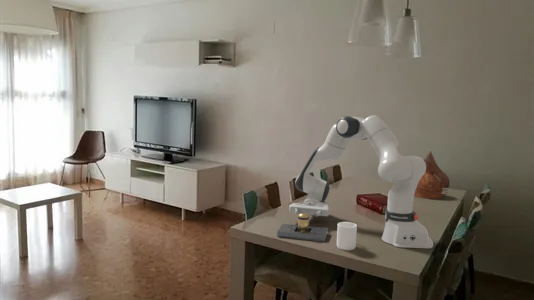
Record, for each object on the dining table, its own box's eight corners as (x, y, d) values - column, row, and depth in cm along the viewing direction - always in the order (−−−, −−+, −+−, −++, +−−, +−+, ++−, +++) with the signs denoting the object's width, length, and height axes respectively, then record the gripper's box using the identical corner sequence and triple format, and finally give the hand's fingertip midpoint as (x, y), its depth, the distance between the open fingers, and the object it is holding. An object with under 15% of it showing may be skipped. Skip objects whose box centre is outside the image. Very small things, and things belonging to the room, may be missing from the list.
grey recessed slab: (327, 233, 208) (327, 228, 208) (324, 241, 197) (325, 236, 196) (282, 228, 213) (282, 223, 213) (277, 236, 202) (277, 231, 202)
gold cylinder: (309, 233, 207) (310, 213, 206) (307, 237, 202) (308, 216, 200) (298, 232, 208) (298, 212, 207) (296, 236, 203) (296, 215, 202)
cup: (334, 248, 188) (335, 226, 187) (340, 240, 199) (341, 218, 198) (353, 251, 185) (354, 228, 184) (359, 242, 196) (360, 221, 195)
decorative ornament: (404, 196, 286) (408, 150, 281) (409, 190, 302) (412, 147, 298) (447, 201, 274) (451, 154, 270) (449, 195, 291) (453, 150, 287)
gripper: (291, 199, 230) (286, 205, 217) (330, 202, 225) (327, 209, 212) (291, 210, 231) (285, 218, 217) (329, 214, 226) (326, 222, 213)
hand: (306, 213), depth 215 cm, fingers open, 8 cm apart
